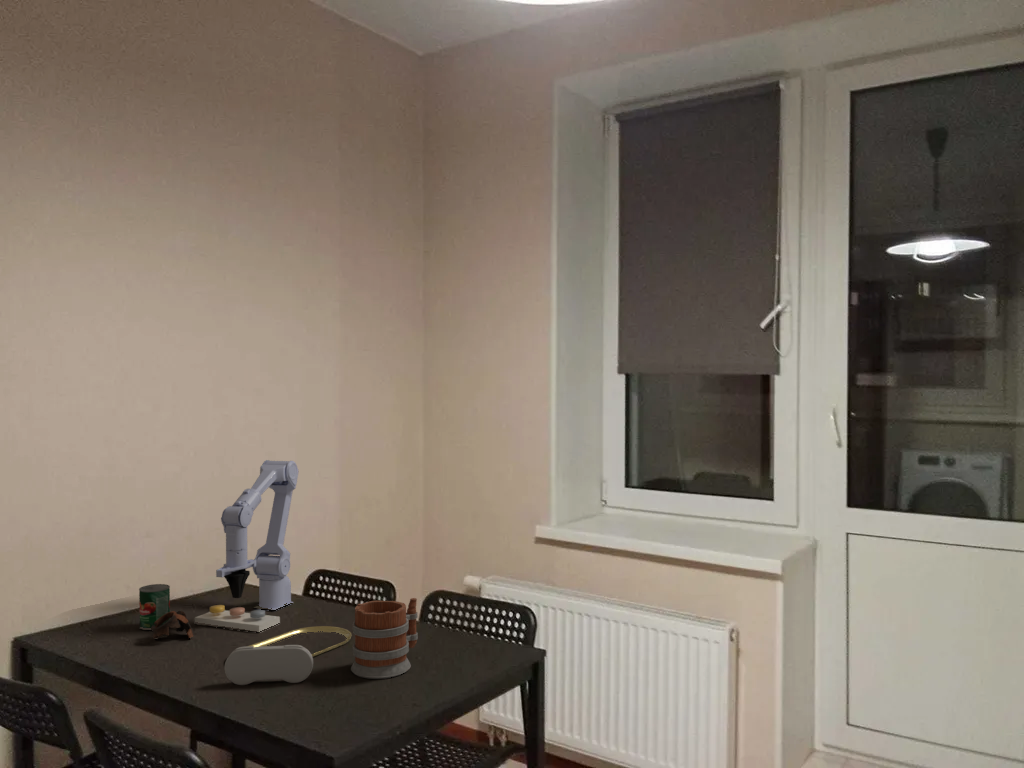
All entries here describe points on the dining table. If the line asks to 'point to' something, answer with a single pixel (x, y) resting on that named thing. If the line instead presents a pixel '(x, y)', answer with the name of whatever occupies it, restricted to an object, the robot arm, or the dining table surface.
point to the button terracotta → (237, 611)
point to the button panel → (238, 620)
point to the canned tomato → (153, 603)
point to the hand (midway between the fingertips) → (237, 597)
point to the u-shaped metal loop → (305, 630)
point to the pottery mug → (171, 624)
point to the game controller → (269, 664)
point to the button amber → (217, 608)
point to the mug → (383, 638)
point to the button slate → (257, 613)
